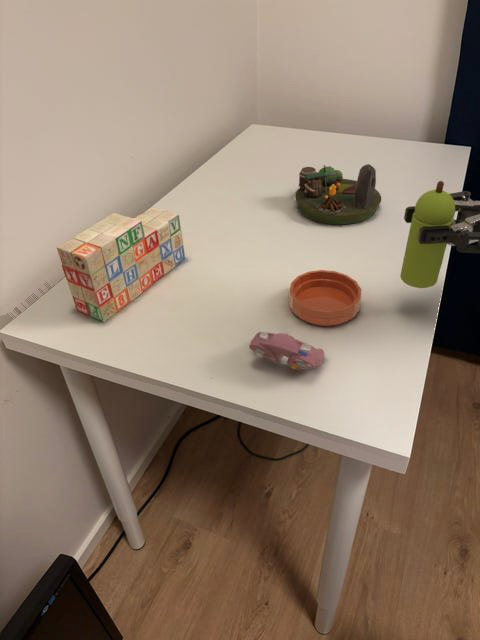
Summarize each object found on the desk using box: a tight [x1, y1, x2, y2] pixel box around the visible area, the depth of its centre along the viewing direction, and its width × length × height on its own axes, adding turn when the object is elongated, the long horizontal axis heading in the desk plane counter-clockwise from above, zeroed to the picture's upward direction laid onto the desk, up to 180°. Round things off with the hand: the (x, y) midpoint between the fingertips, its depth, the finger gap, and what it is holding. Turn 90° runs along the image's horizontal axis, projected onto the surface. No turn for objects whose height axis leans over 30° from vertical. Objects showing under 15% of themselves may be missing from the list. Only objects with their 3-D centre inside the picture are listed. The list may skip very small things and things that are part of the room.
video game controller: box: [248, 330, 325, 370], centre depth 66 cm, size 10×5×7 cm, turn 64°
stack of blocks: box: [56, 206, 186, 323], centre depth 81 cm, size 21×6×12 cm, turn 147°
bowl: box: [288, 269, 362, 327], centre depth 77 cm, size 11×11×3 cm
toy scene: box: [294, 163, 382, 225], centre depth 101 cm, size 18×18×11 cm
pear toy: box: [399, 180, 456, 289], centre depth 67 cm, size 5×5×15 cm
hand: (412, 225), depth 66 cm, fingers closed on pear toy, 5 cm apart
